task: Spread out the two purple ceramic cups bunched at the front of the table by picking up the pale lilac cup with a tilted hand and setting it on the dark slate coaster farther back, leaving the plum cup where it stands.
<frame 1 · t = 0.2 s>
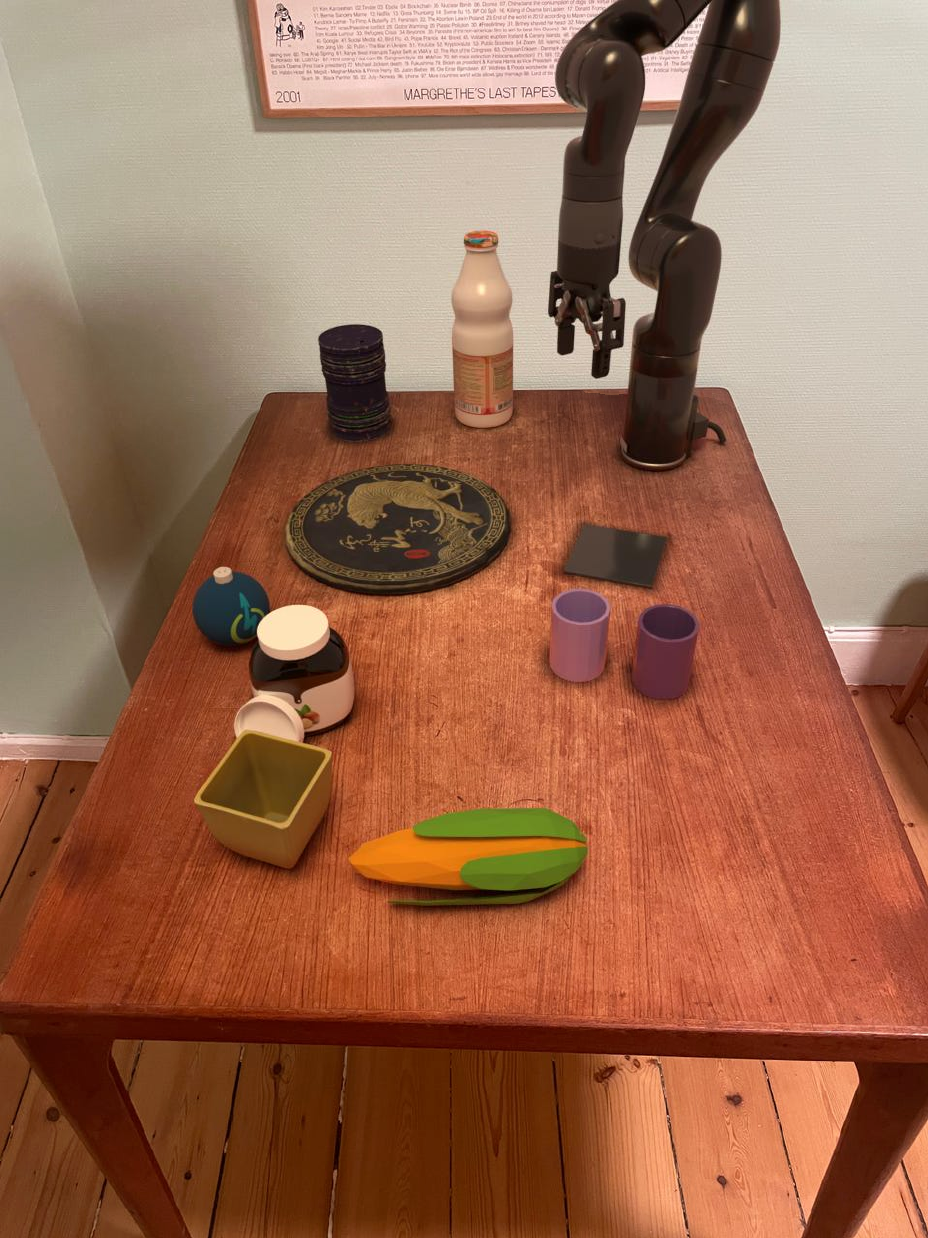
hand: (581, 364, 117), 17 cm above the table, tool pointing down, fingers open, 8 cm apart
plum cup: (660, 680, 95), on the table
christmas ornament: (238, 638, 103), on the table
fruit juice: (483, 417, 145), on the table
flower pot: (281, 842, 81), on the table
spread jar: (300, 727, 92), on the table
lilac cup: (577, 663, 98), on the table
coaster: (616, 556, 113), on the table
dark purple cylinder: (360, 428, 143), on the table
decorative plate: (398, 530, 120), on the table
corn: (469, 883, 77), on the table
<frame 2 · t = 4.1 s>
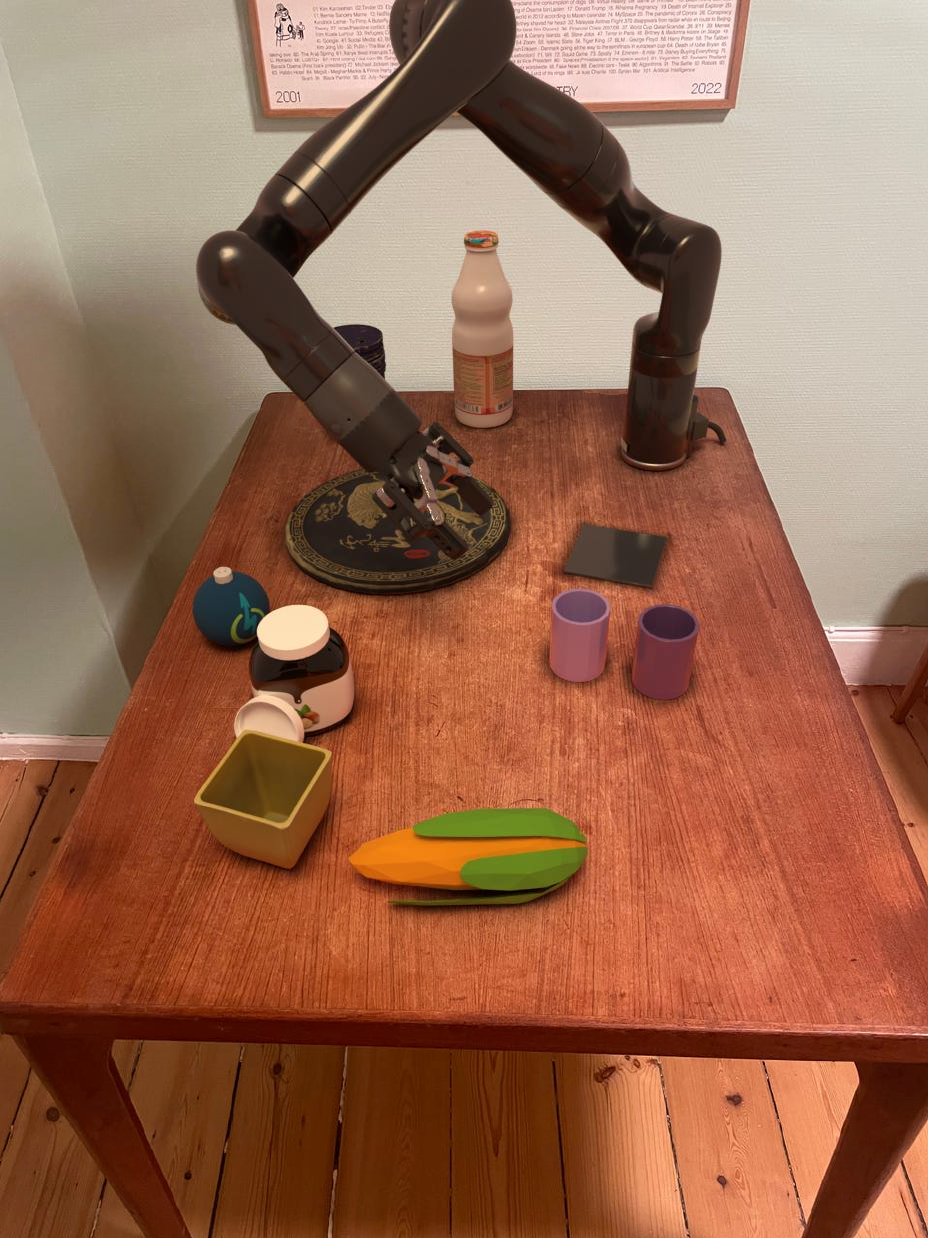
hand: (475, 531, 91), 15 cm above the table, tool tilted 45°, fingers open, 8 cm apart
nothing on the table moved.
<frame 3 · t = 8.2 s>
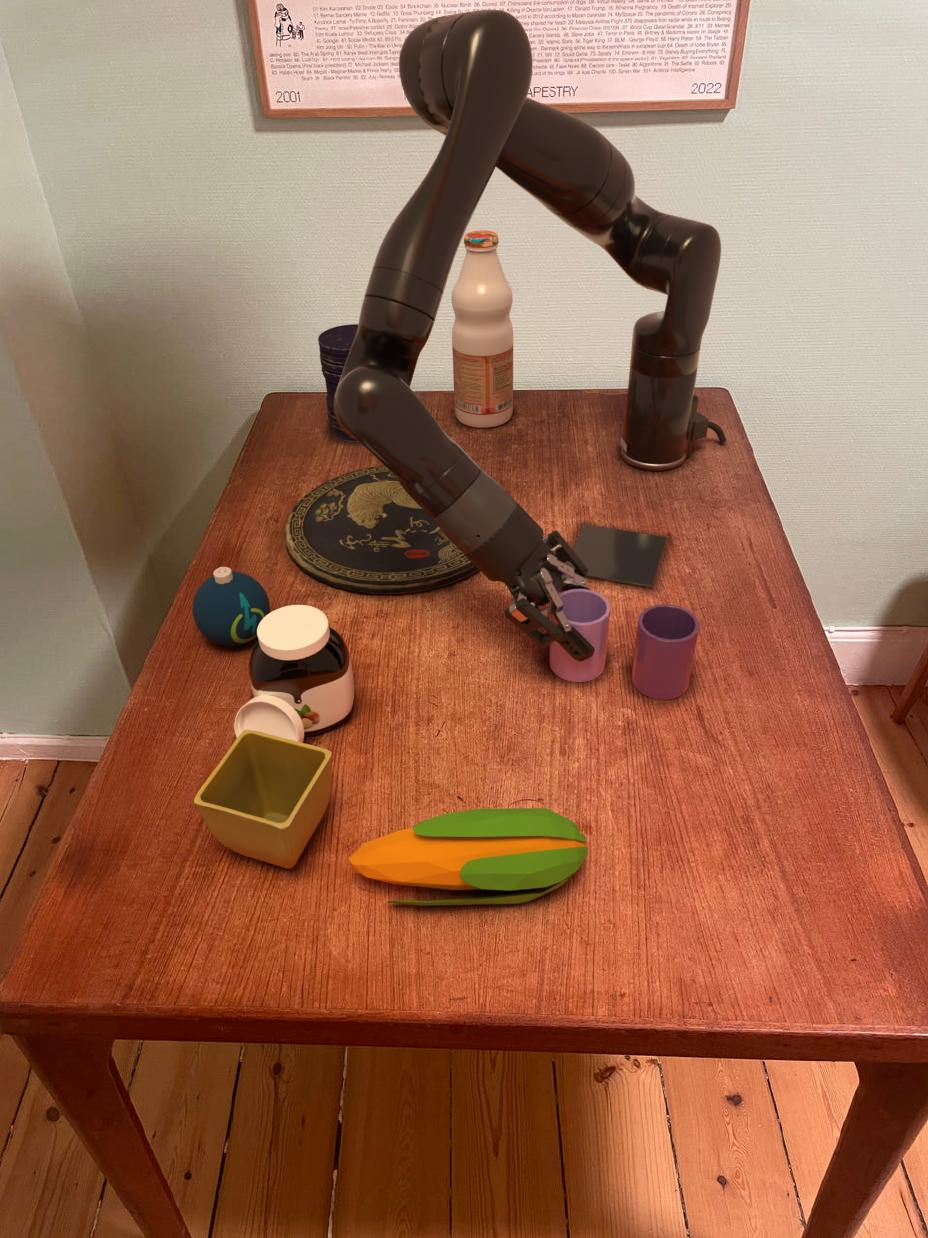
hand: (594, 636, 95), 4 cm above the table, tool tilted 45°, fingers closed on lilac cup, 6 cm apart
lilac cup: (577, 663, 98), on the table, touching gripper
everything else where it was.
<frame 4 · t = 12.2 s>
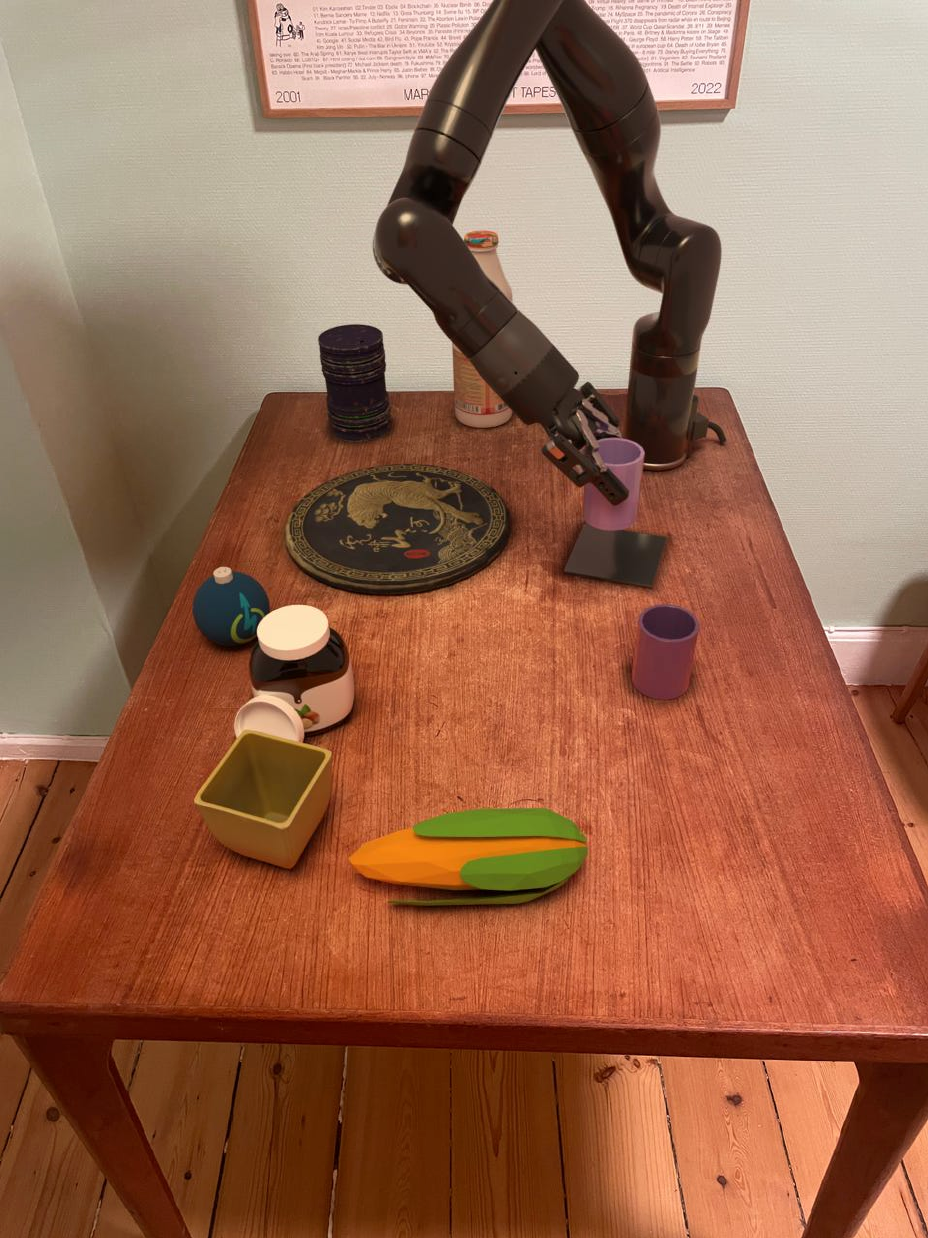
hand: (628, 483, 96), 16 cm above the table, tool tilted 45°, fingers closed on lilac cup, 6 cm apart
lilac cup: (609, 515, 99), point 12 cm above the table, touching gripper
everything else where it was.
when the fingers open (5 cm above the table, at t = 16.4 s): lilac cup stays where it is, resting on coaster.
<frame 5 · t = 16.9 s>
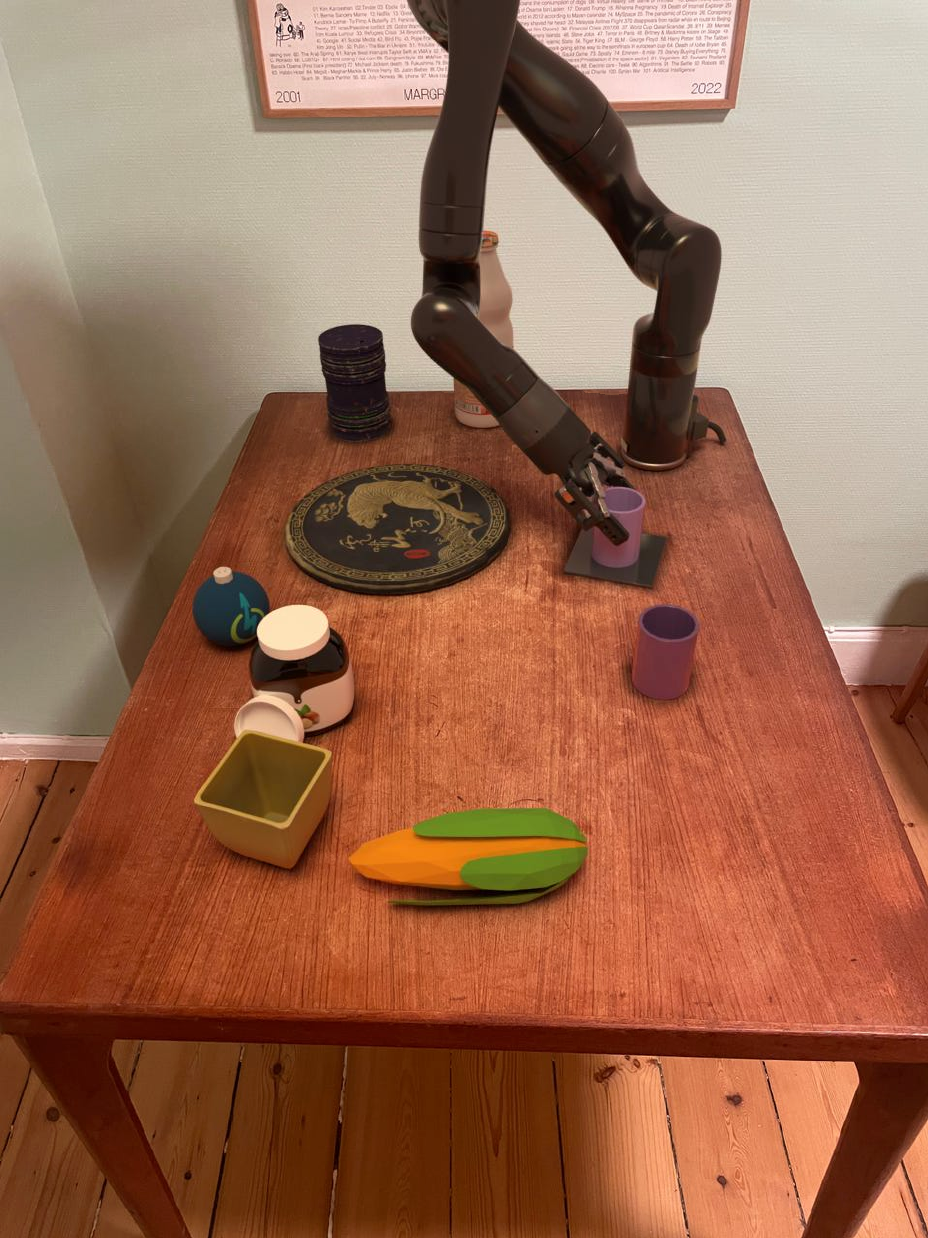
hand: (630, 522, 109), 5 cm above the table, tool tilted 45°, fingers open, 8 cm apart
lilac cup: (615, 553, 113), resting on coaster
everything else where it was.
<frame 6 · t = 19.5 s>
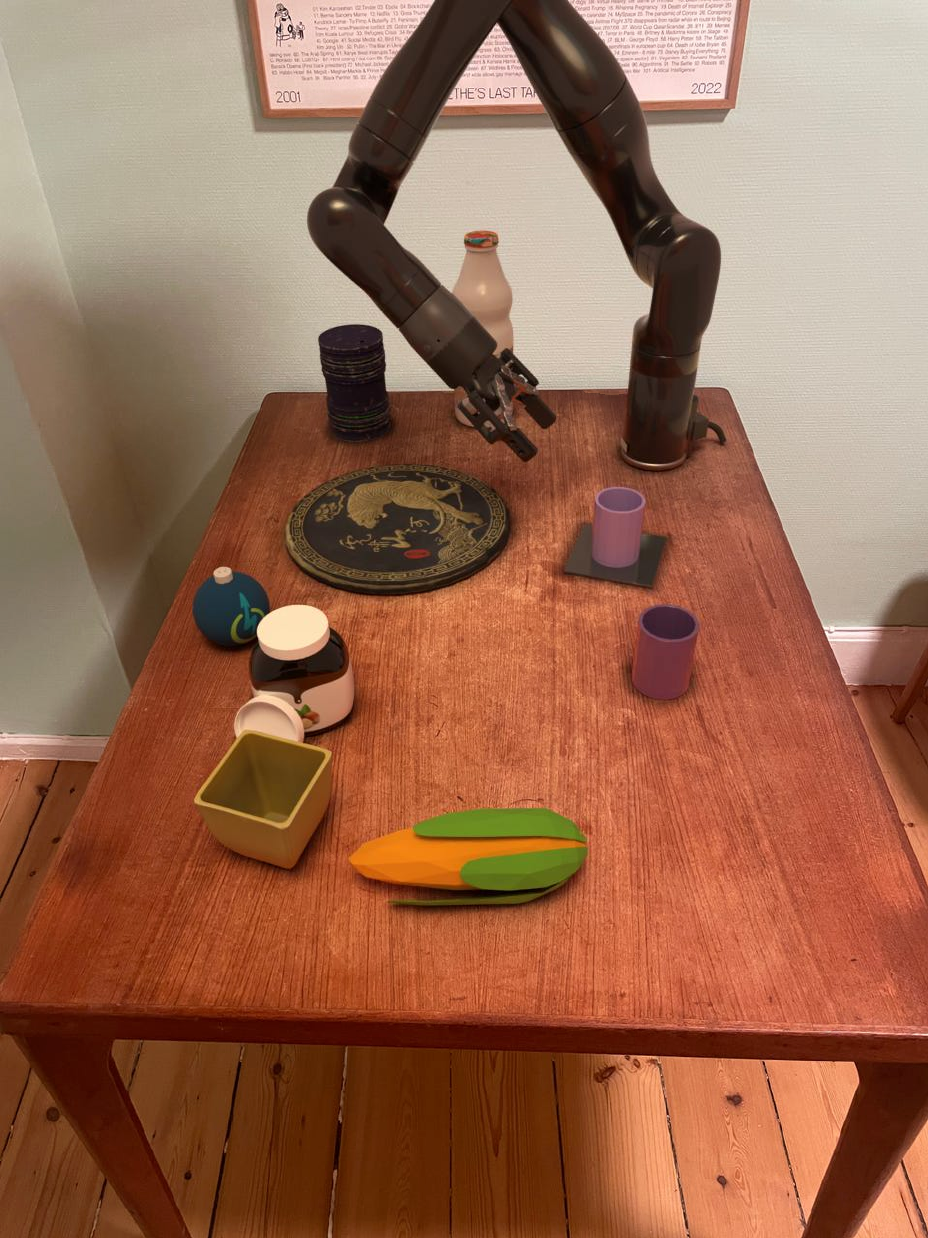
hand: (542, 440, 106), 15 cm above the table, tool tilted 45°, fingers open, 8 cm apart
nothing on the table moved.
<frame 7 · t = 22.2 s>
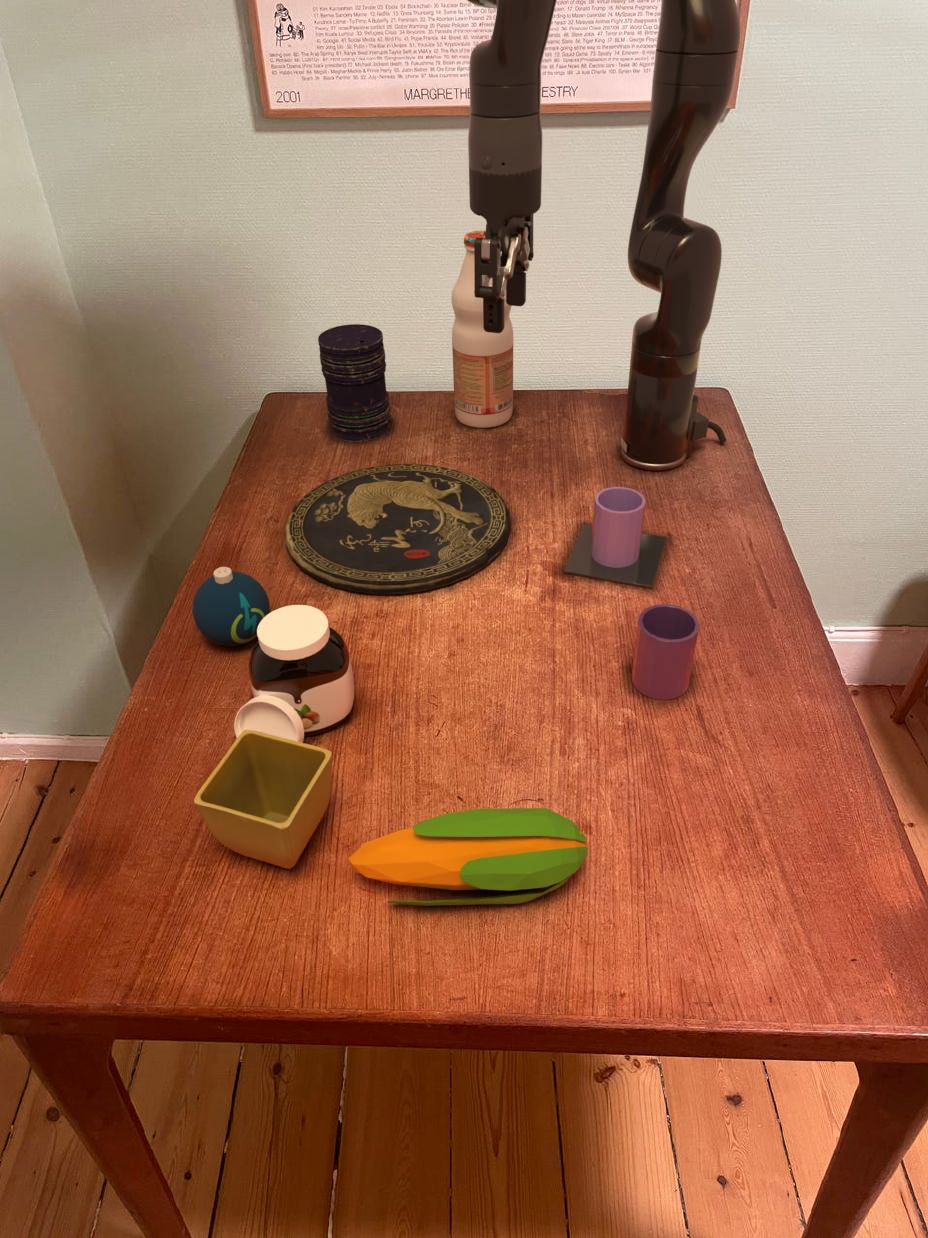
hand: (505, 317, 102), 28 cm above the table, tool pointing down, fingers open, 8 cm apart
nothing on the table moved.
at the end: lilac cup 0.2 cm off-centre on the coaster, point 0.4 cm above the coaster's base; lilac cup tilted 0°; plum cup moved 0.0 cm from its start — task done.
